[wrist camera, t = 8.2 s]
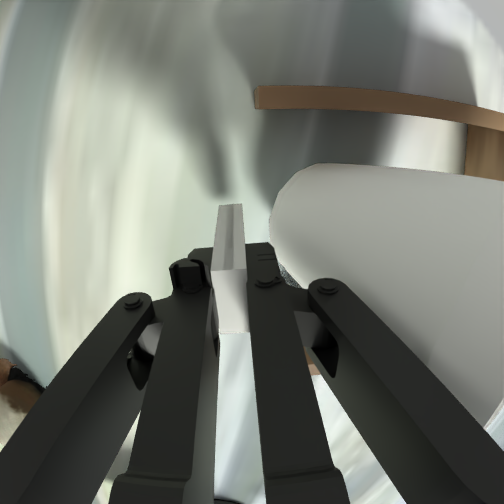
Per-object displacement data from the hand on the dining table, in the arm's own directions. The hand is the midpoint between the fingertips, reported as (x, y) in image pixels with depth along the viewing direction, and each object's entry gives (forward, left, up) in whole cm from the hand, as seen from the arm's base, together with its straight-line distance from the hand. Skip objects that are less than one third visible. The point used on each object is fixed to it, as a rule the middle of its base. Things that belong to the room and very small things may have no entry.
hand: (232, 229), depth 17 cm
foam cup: (0, -5, -1) cm, 5 cm away
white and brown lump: (-19, +25, -3) cm, 32 cm away
